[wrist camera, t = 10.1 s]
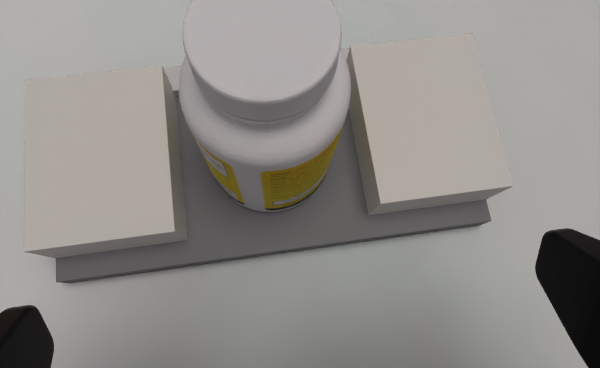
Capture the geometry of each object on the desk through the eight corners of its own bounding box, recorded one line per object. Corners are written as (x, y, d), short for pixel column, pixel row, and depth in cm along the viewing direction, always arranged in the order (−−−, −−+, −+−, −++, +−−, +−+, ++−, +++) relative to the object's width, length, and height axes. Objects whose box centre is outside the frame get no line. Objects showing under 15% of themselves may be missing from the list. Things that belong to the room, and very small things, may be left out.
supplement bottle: (341, 118, 21) (392, -30, 12) (311, 228, 20) (342, 160, 10) (231, 88, 21) (194, -83, 12) (193, 194, 20) (117, 97, 10)
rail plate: (438, 57, 24) (467, 13, 20) (479, 225, 21) (520, 210, 18) (65, 97, 22) (24, 58, 18) (69, 283, 20) (23, 279, 16)
